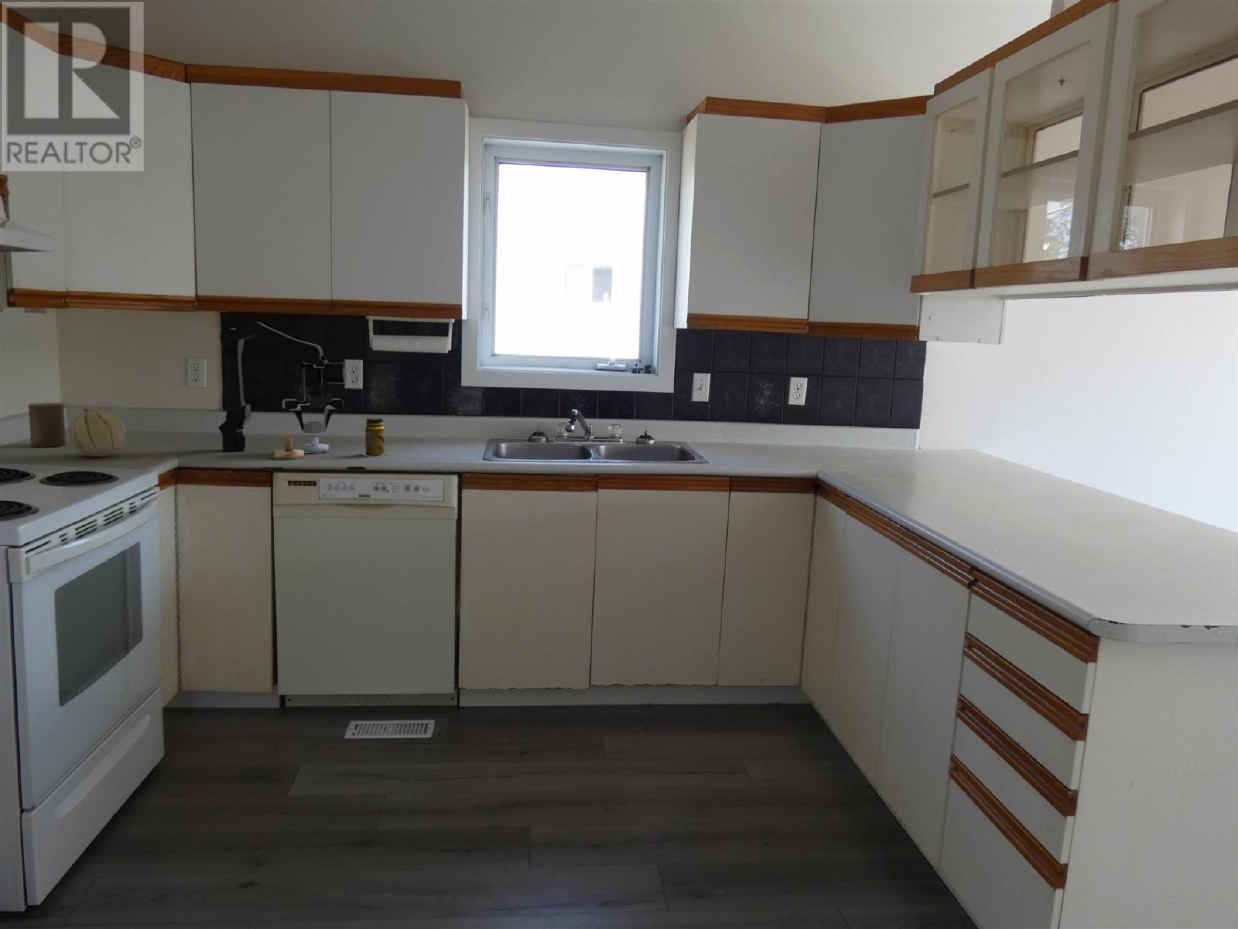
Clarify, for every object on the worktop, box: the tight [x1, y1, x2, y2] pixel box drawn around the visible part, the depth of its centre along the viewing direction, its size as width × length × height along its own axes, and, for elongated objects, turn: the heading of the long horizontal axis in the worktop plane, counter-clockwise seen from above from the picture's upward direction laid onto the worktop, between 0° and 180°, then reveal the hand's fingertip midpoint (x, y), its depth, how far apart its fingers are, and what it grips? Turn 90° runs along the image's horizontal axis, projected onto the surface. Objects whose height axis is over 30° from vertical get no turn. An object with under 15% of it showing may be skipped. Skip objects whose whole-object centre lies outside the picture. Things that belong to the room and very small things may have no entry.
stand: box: [273, 437, 305, 461], centre depth 279 cm, size 9×9×6 cm
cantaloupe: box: [68, 407, 127, 458], centre depth 269 cm, size 15×15×15 cm
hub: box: [299, 435, 330, 454], centre depth 293 cm, size 9×9×5 cm
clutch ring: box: [301, 420, 327, 434], centre depth 292 cm, size 7×7×3 cm
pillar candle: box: [27, 399, 67, 448], centre depth 286 cm, size 10×10×15 cm
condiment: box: [355, 417, 390, 458], centre depth 290 cm, size 7×8×12 cm
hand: (313, 429), depth 292 cm, fingers closed on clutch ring, 7 cm apart
